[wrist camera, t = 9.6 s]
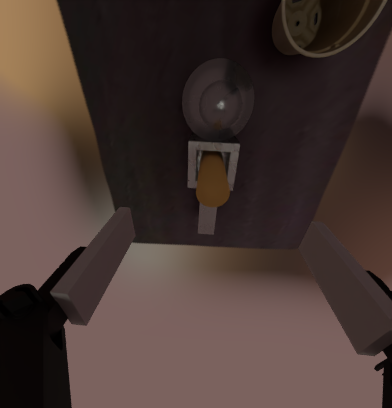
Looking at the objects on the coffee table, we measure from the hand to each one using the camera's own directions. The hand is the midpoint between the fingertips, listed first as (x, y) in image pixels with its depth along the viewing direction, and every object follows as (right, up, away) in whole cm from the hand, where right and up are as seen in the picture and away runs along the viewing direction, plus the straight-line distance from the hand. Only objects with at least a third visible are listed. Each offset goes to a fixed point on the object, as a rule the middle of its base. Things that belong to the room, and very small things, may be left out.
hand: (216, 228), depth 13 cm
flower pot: (+12, +26, +10) cm, 30 cm away
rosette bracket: (+1, +11, +19) cm, 22 cm away
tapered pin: (+1, +10, +18) cm, 20 cm away
